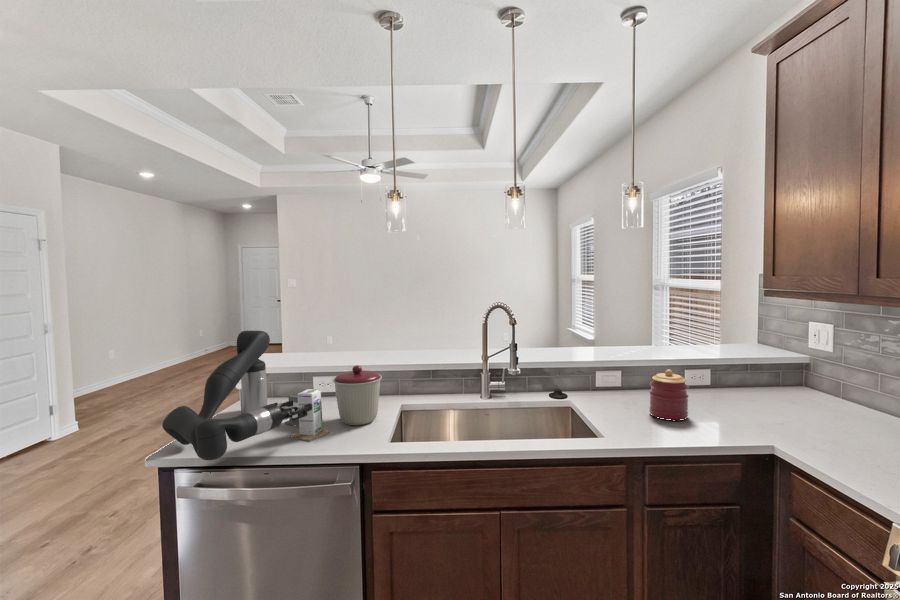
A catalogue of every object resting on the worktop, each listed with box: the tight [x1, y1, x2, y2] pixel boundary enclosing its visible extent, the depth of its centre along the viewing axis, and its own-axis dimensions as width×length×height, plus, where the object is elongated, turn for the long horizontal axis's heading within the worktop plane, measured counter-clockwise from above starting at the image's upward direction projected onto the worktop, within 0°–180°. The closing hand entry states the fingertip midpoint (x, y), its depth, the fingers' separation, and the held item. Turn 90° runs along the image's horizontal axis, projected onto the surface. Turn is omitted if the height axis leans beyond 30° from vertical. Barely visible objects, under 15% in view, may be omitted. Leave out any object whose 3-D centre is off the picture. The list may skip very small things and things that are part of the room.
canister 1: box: [332, 365, 383, 426], centre depth 162 cm, size 18×18×21 cm
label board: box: [284, 394, 299, 427], centre depth 159 cm, size 13×3×10 cm, turn 64°
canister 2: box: [648, 368, 690, 420], centre depth 161 cm, size 13×13×18 cm
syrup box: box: [297, 388, 324, 436], centre depth 150 cm, size 6×6×14 cm
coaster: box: [289, 429, 330, 442], centre depth 149 cm, size 9×9×1 cm
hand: (301, 404), depth 146 cm, fingers open, 8 cm apart
